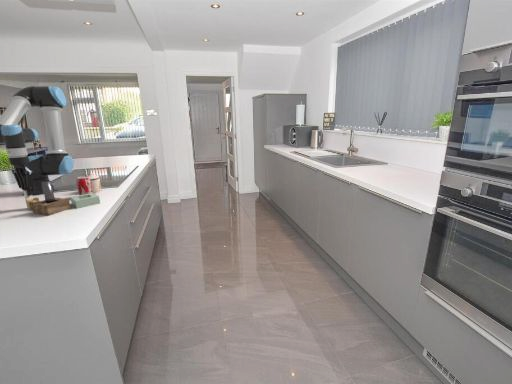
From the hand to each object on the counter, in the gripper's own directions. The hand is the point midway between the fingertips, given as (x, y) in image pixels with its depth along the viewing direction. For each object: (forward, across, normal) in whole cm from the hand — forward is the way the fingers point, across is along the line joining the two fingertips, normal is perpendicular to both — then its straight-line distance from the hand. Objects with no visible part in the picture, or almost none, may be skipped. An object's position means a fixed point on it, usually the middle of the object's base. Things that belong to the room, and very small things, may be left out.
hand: (29, 201), depth 141 cm
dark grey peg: (+4, +16, 0) cm, 16 cm away
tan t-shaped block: (+3, +5, 0) cm, 6 cm away
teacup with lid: (+4, +2, +35) cm, 35 cm away
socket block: (+4, +16, 0) cm, 16 cm away
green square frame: (+4, +22, +14) cm, 26 cm away
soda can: (+4, +10, +24) cm, 26 cm away
